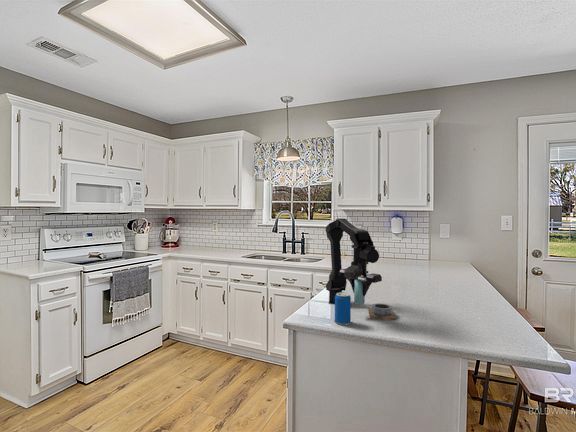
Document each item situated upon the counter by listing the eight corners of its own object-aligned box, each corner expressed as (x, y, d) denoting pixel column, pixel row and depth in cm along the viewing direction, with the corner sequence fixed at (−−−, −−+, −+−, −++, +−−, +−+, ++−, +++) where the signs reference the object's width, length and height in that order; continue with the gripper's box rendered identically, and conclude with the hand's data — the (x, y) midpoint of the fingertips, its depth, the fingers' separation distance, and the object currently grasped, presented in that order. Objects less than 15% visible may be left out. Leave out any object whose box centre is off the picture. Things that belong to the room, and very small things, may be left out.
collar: (372, 315, 141) (372, 308, 141) (371, 309, 150) (371, 303, 150) (392, 316, 140) (392, 309, 140) (390, 310, 148) (390, 304, 148)
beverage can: (339, 319, 139) (340, 291, 139) (353, 322, 135) (353, 293, 135) (331, 323, 134) (332, 294, 134) (345, 326, 130) (345, 297, 130)
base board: (369, 318, 140) (369, 316, 140) (368, 310, 151) (368, 308, 151) (396, 320, 138) (396, 317, 138) (392, 312, 149) (392, 310, 149)
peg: (354, 304, 140) (354, 281, 140) (354, 301, 145) (354, 278, 144) (364, 304, 139) (365, 281, 139) (364, 301, 144) (364, 279, 144)
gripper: (331, 258, 143) (331, 293, 144) (367, 264, 129) (366, 303, 130) (347, 256, 151) (346, 289, 151) (382, 261, 137) (382, 298, 137)
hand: (359, 294), depth 142 cm, fingers closed on peg, 4 cm apart
